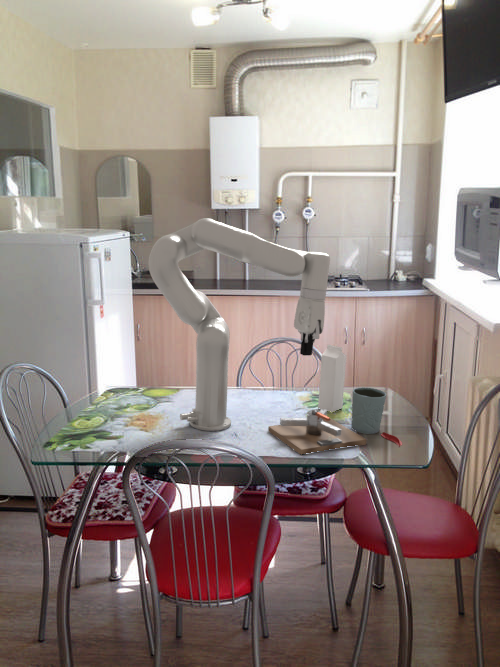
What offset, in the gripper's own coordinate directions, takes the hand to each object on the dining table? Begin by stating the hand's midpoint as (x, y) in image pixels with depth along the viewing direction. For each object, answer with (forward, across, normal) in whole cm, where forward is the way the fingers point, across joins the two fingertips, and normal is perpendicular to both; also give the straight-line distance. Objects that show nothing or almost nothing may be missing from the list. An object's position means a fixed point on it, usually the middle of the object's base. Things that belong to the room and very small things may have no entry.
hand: (305, 354), depth 178 cm
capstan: (+21, +8, +2) cm, 22 cm away
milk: (+23, -12, +20) cm, 32 cm away
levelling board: (+23, +10, +1) cm, 25 cm away
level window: (+21, +18, 0) cm, 28 cm away
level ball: (+21, +18, 0) cm, 27 cm away
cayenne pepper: (+22, +18, +22) cm, 36 cm away
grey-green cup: (+22, +8, +20) cm, 31 cm away
